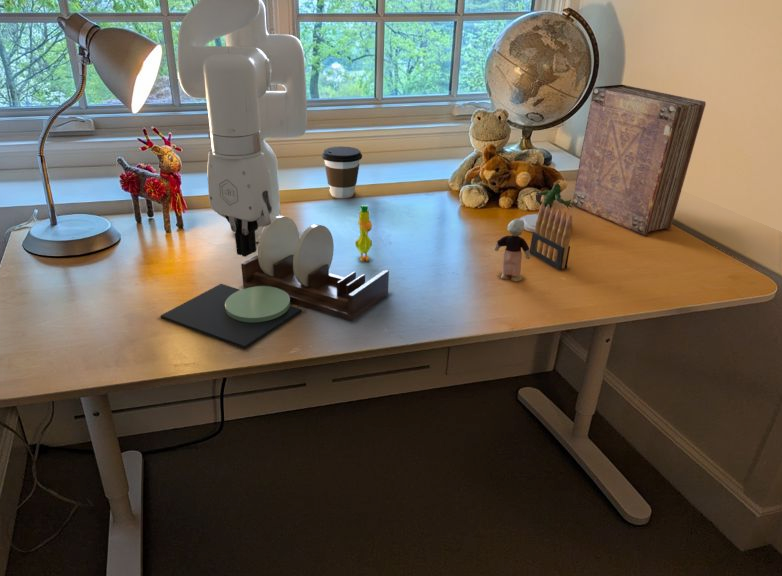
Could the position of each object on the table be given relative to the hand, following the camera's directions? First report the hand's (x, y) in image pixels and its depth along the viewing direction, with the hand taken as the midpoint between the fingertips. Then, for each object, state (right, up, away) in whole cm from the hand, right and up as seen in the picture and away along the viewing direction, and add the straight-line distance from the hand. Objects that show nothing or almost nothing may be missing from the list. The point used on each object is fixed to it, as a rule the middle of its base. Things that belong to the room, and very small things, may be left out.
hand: (246, 252), depth 109 cm
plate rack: (+10, -5, +18) cm, 21 cm away
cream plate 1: (+3, +4, +18) cm, 18 cm away
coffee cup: (+14, +28, +69) cm, 76 cm away
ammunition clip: (+60, +4, +32) cm, 69 cm away
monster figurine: (+65, +15, +51) cm, 84 cm away
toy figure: (+20, +4, +31) cm, 37 cm away
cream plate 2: (+10, +2, +14) cm, 17 cm away
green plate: (0, -8, +10) cm, 13 cm away
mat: (-4, -10, +9) cm, 14 cm away
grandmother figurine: (+50, -1, +25) cm, 56 cm away
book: (+86, +19, +57) cm, 105 cm away
